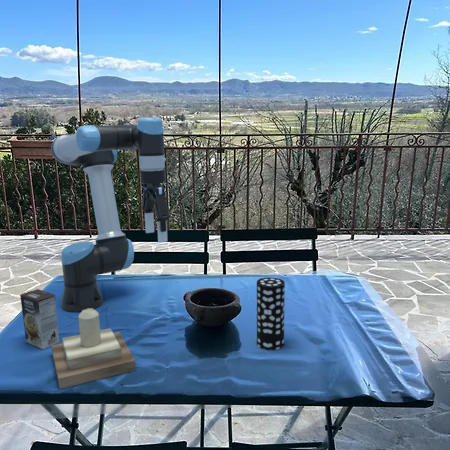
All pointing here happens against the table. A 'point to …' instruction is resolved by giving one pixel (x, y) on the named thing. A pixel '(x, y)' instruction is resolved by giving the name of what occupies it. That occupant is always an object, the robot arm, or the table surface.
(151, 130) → the robot arm
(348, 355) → the table surface
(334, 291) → the table surface
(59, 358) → the two-tier square platform
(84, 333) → the candle
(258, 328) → the white-spotted black cylinder
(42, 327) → the coffee box
